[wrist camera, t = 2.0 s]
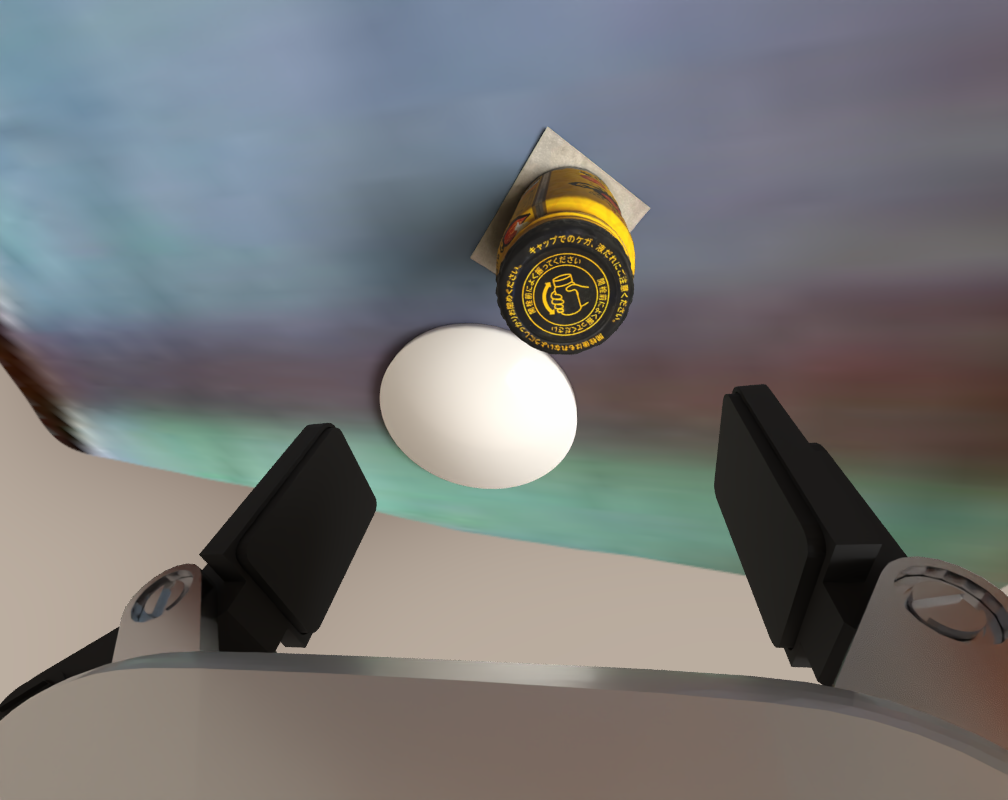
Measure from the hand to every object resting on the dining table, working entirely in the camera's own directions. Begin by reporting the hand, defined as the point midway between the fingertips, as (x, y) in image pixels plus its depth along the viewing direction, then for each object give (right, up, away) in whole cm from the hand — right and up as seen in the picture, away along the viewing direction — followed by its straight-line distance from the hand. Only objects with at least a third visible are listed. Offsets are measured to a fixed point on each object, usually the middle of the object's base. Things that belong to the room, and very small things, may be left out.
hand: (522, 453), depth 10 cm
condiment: (+3, +12, +16) cm, 20 cm away
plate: (-3, 0, +24) cm, 24 cm away
